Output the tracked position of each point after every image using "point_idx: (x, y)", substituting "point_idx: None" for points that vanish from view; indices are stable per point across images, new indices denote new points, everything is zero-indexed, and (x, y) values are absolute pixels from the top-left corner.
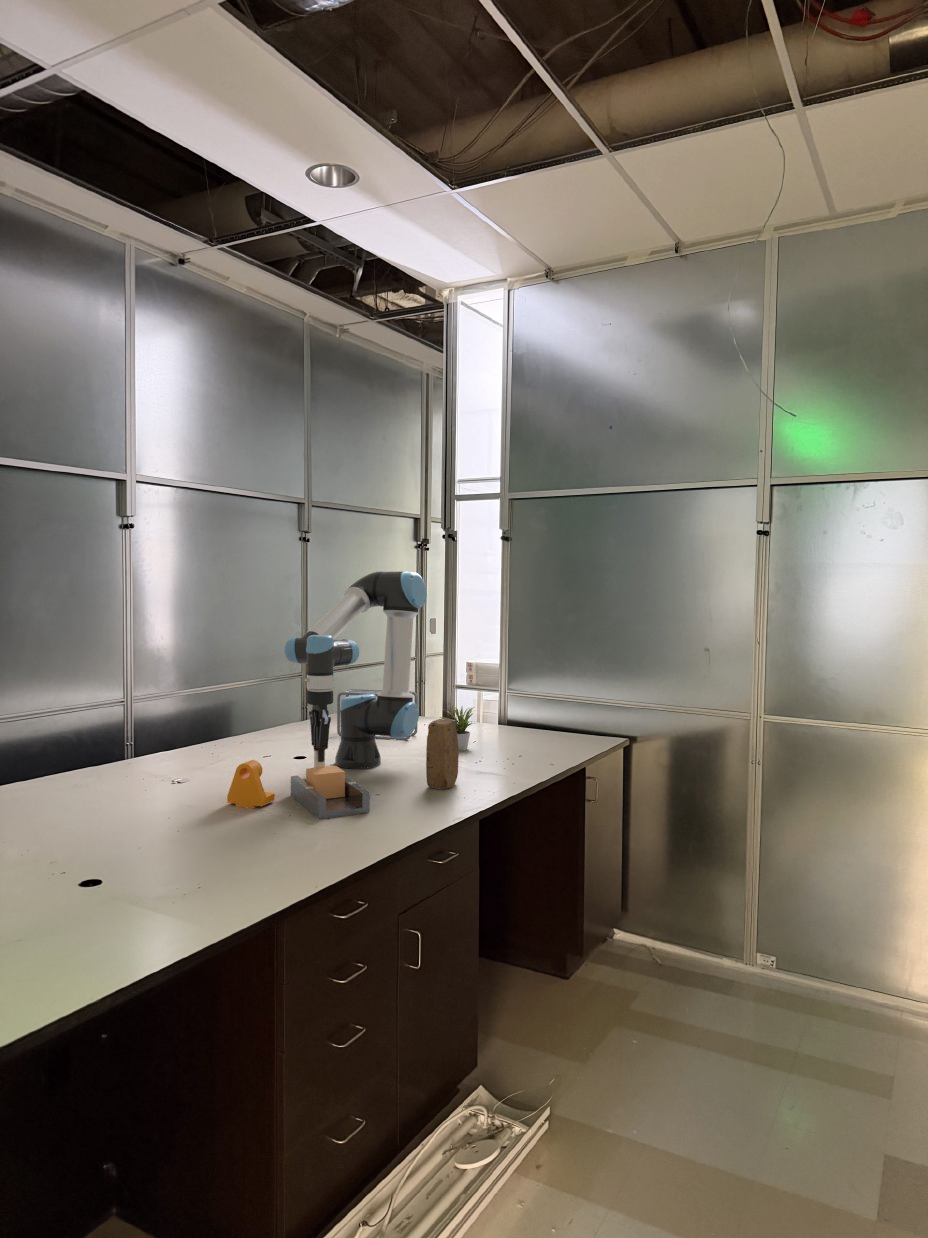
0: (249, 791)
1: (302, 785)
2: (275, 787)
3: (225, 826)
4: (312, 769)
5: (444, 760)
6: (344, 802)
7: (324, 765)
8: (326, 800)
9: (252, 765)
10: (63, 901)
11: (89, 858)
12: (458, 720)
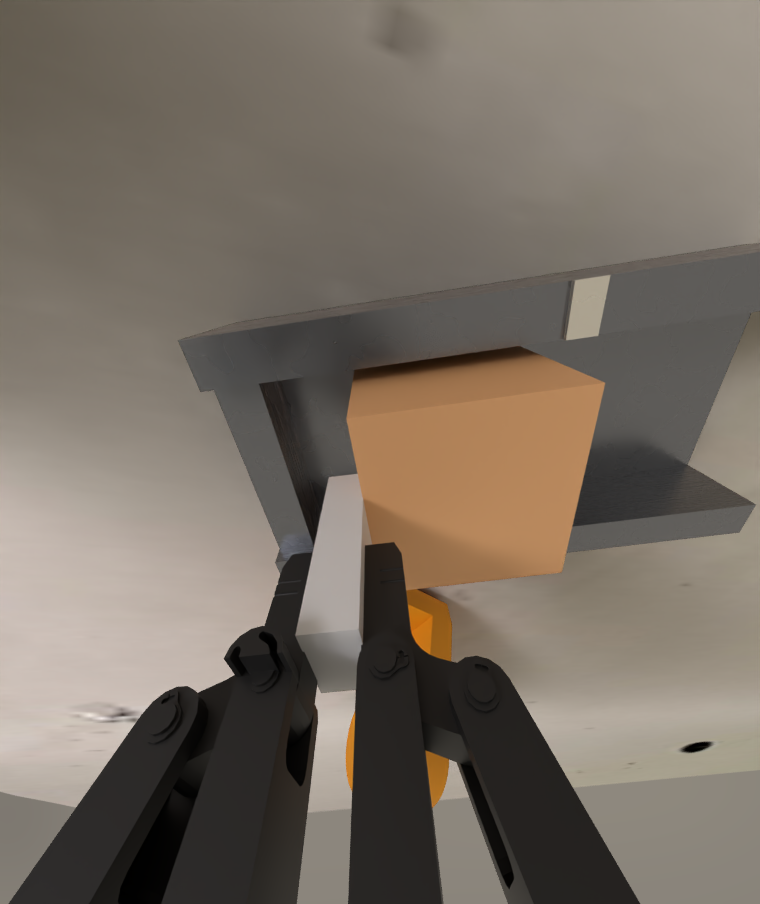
0: None
1: None
2: (175, 553)
3: (552, 654)
4: (419, 569)
5: None
6: (601, 364)
7: (363, 507)
8: None
9: (430, 785)
10: (735, 755)
11: (593, 755)
12: None
